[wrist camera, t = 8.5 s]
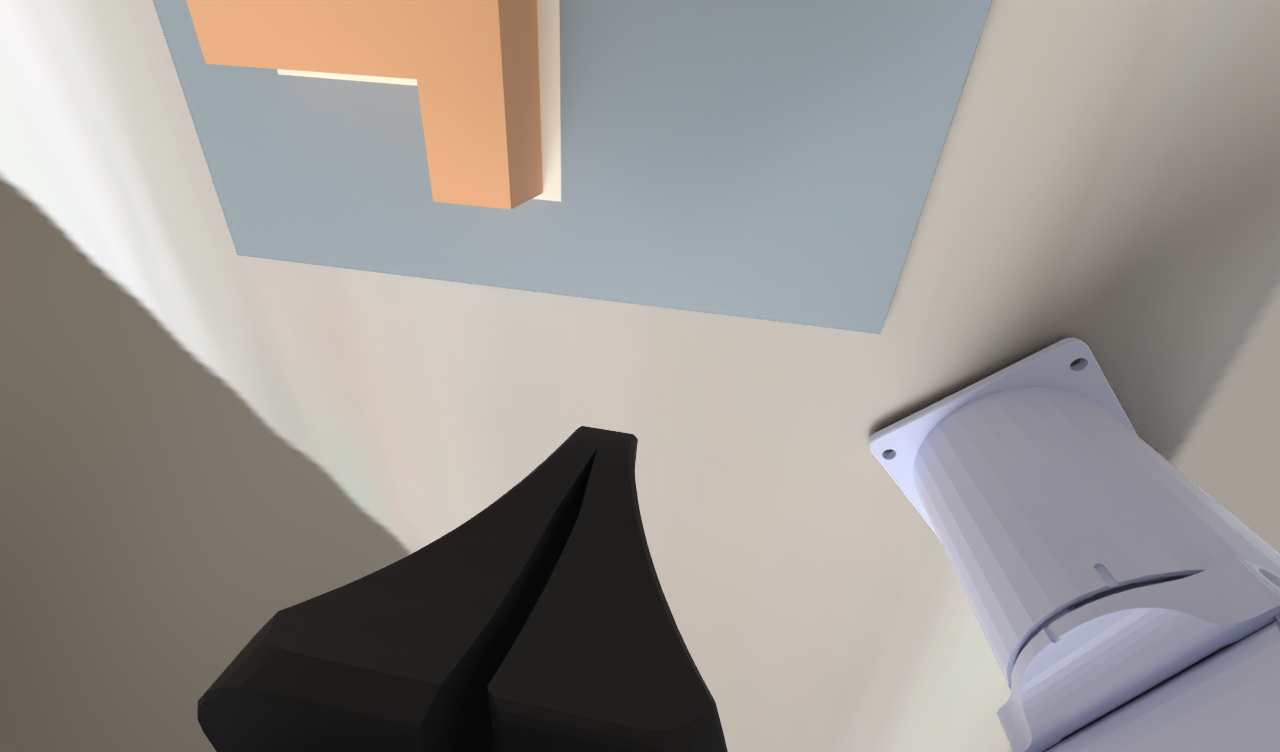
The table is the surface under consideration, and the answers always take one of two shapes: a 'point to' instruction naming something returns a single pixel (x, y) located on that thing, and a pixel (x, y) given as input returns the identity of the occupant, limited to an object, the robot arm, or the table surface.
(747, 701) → the table surface
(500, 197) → the t block
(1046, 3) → the table surface
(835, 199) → the board
